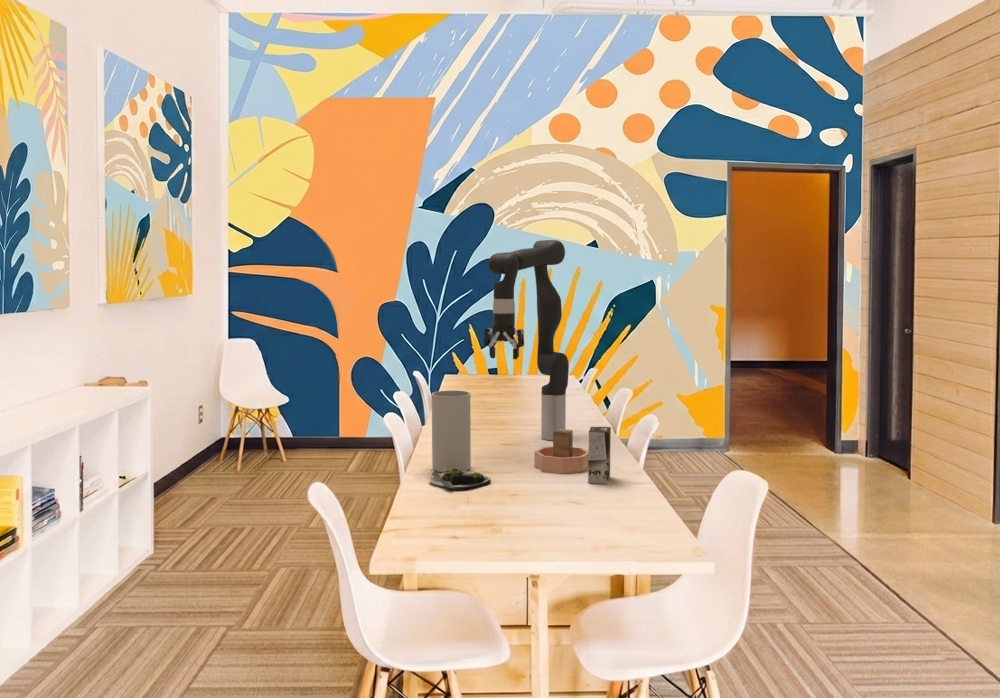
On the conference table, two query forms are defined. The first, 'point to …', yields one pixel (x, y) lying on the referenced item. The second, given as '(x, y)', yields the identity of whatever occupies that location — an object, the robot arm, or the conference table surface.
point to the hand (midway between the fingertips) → (504, 358)
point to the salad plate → (459, 480)
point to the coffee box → (599, 455)
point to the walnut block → (562, 443)
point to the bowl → (561, 461)
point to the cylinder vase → (451, 430)
